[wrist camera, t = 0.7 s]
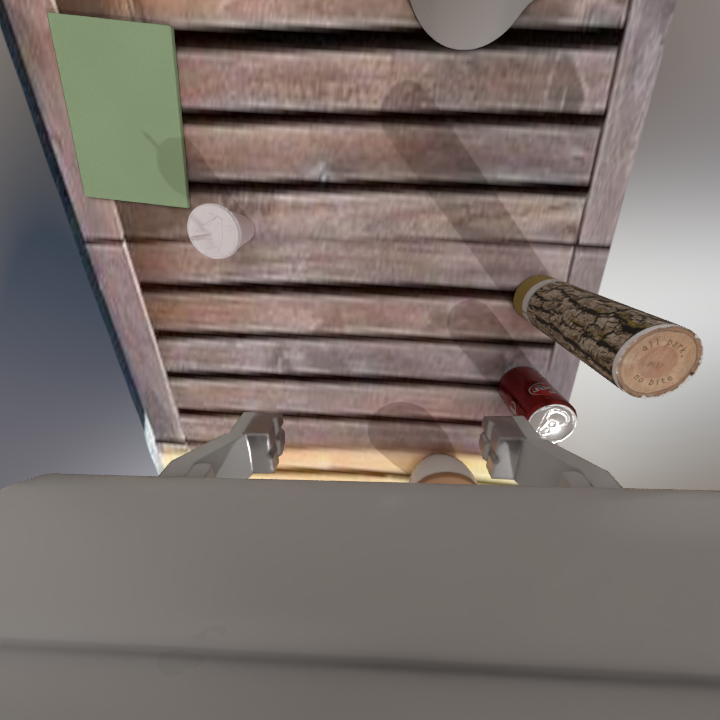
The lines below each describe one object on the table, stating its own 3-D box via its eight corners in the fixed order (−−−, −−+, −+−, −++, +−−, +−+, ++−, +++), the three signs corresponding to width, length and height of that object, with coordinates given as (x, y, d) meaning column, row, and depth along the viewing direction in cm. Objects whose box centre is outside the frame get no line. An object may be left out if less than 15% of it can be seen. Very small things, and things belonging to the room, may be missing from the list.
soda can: (518, 357, 55) (552, 392, 44) (550, 379, 57) (591, 420, 46) (487, 388, 58) (513, 429, 47) (518, 409, 59) (550, 454, 48)
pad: (52, 15, 41) (46, 11, 40) (174, 28, 41) (170, 25, 40) (89, 196, 49) (84, 196, 48) (190, 208, 49) (187, 208, 48)
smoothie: (213, 234, 50) (157, 241, 37) (232, 195, 48) (178, 188, 35) (251, 259, 51) (209, 275, 39) (271, 222, 49) (233, 226, 36)
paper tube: (523, 269, 50) (644, 316, 27) (566, 280, 50) (722, 337, 27) (504, 312, 53) (600, 388, 30) (545, 322, 53) (671, 406, 30)
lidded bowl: (447, 430, 62) (460, 473, 52) (483, 473, 66) (501, 521, 55) (392, 462, 66) (394, 508, 56) (429, 501, 69) (437, 551, 59)
